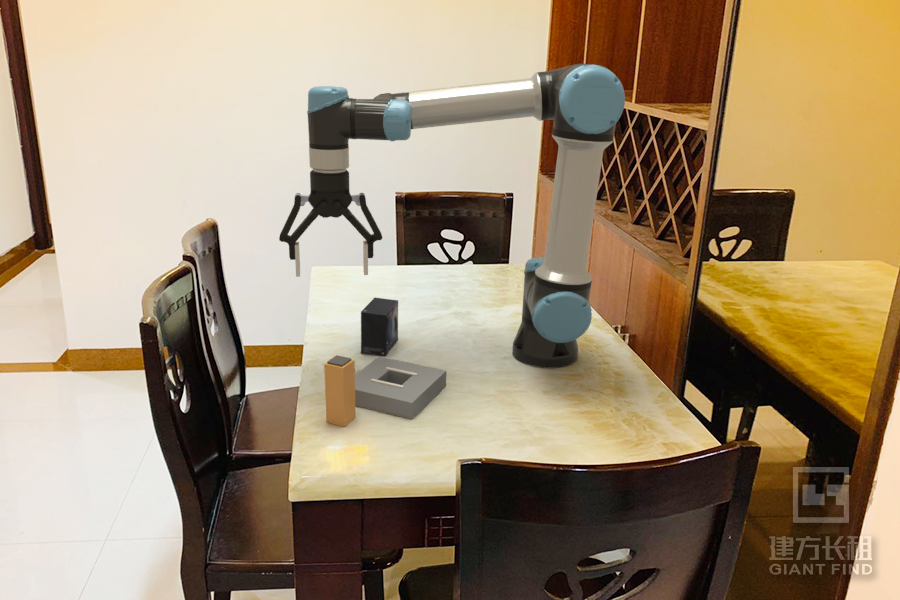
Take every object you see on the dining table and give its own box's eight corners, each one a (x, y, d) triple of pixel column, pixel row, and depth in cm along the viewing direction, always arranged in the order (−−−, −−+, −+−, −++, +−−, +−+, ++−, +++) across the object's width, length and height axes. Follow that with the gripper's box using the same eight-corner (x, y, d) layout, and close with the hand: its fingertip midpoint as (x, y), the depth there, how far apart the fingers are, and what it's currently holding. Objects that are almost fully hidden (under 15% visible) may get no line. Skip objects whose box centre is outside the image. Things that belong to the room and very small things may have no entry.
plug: (355, 417, 139) (354, 358, 135) (344, 426, 136) (342, 366, 131) (337, 412, 140) (335, 354, 136) (326, 421, 137) (324, 362, 133)
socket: (446, 385, 153) (446, 369, 151) (411, 419, 139) (411, 401, 137) (379, 371, 158) (379, 355, 157) (340, 401, 145) (339, 384, 143)
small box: (387, 357, 165) (387, 314, 162) (360, 354, 167) (359, 311, 163) (399, 340, 175) (399, 299, 172) (373, 337, 176) (373, 296, 173)
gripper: (391, 166, 146) (391, 267, 153) (264, 166, 142) (270, 269, 149) (395, 172, 139) (395, 278, 147) (262, 172, 135) (268, 281, 142)
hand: (332, 274), depth 148 cm, fingers open, 13 cm apart
